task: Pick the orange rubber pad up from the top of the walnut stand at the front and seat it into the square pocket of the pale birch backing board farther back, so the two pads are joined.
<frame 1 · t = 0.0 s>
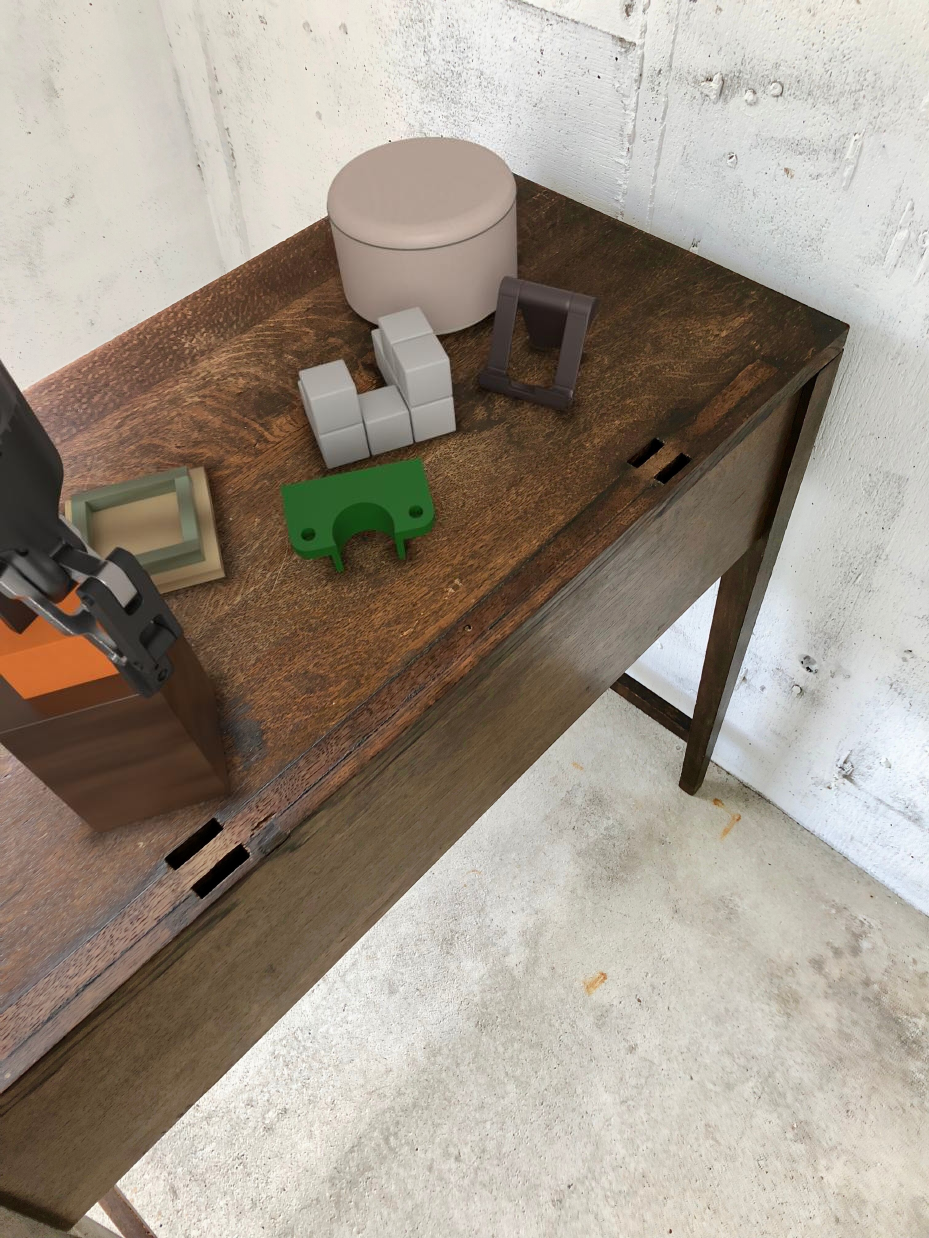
hand: (94, 650, 45), 18 cm above the table, tool pointing down, fingers open, 8 cm apart
backing board: (145, 542, 73), on the table
tablet stand: (538, 379, 82), on the table
pad: (73, 646, 50), point 14 cm above the table, touching gripper, stand
stand: (158, 756, 61), on the table
container: (431, 292, 91), on the table
clamp: (367, 543, 72), on the table
puzzle cube: (374, 410, 81), on the table
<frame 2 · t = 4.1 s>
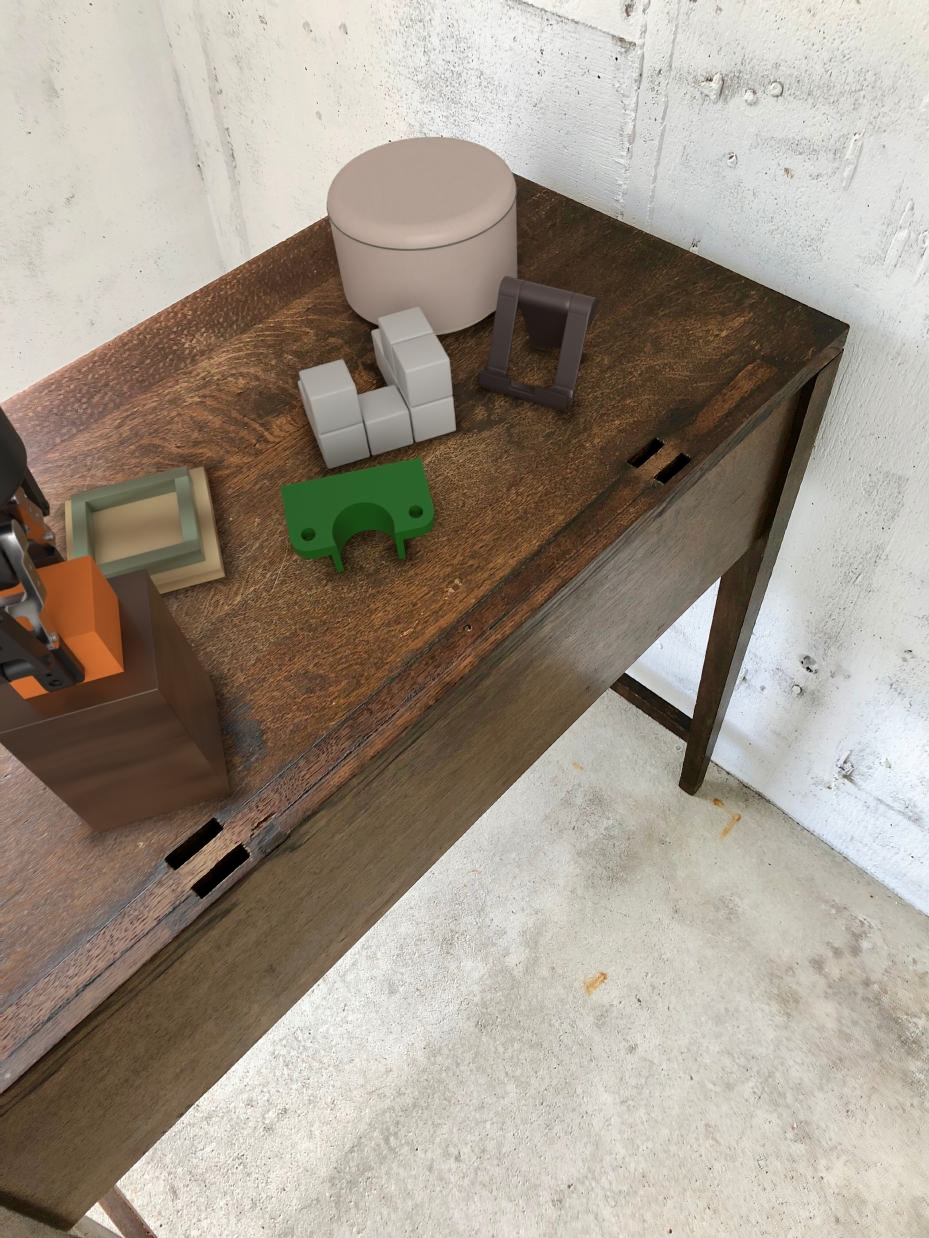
hand: (65, 637, 49), 15 cm above the table, tool pointing down, fingers closed on pad, 5 cm apart
pad: (73, 646, 50), point 14 cm above the table, touching gripper, stand
everything else where it was.
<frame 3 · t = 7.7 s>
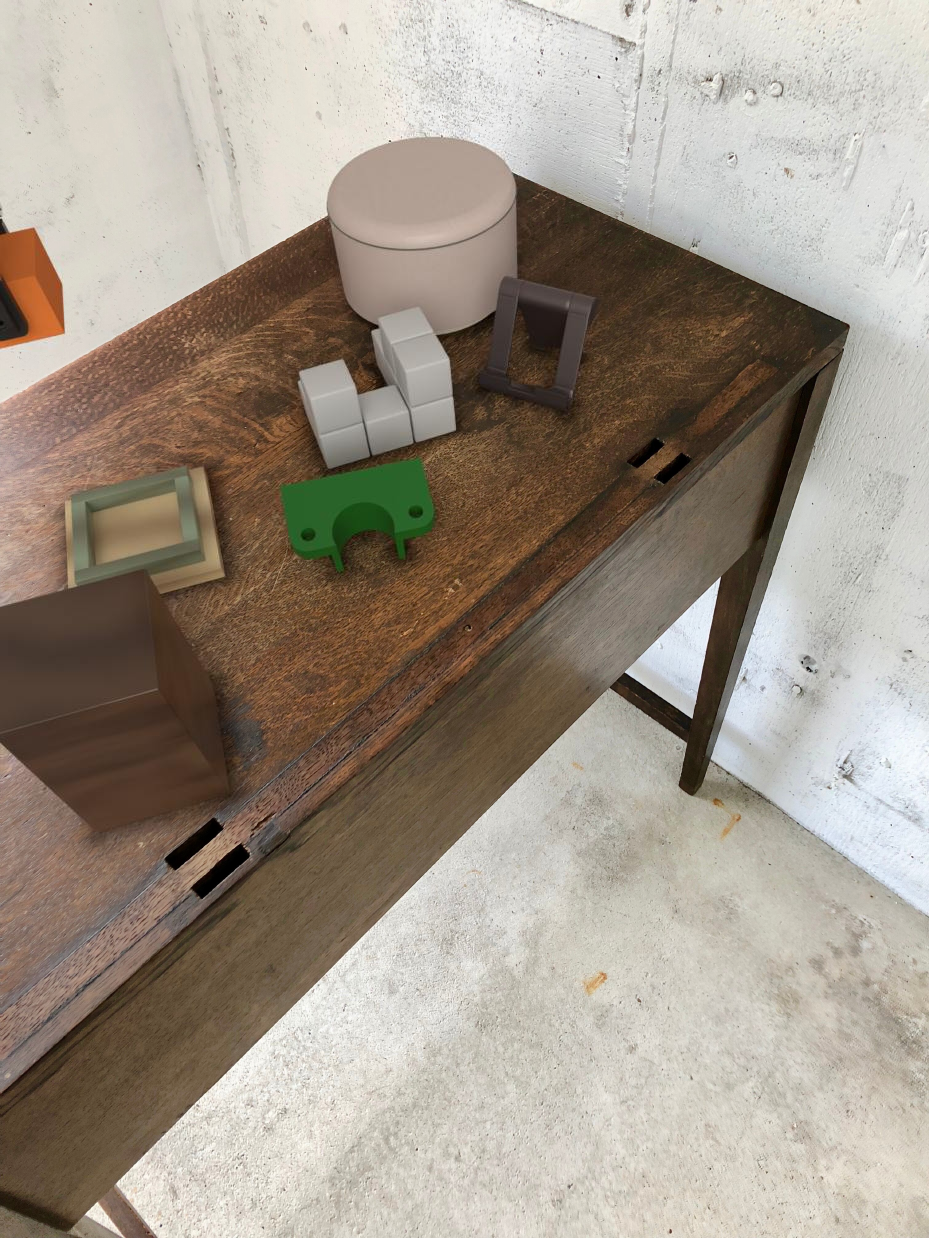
hand: (12, 305, 54), 23 cm above the table, tool pointing down, fingers closed on pad, 5 cm apart
pad: (20, 318, 55), point 22 cm above the table, touching gripper
everything else where it was.
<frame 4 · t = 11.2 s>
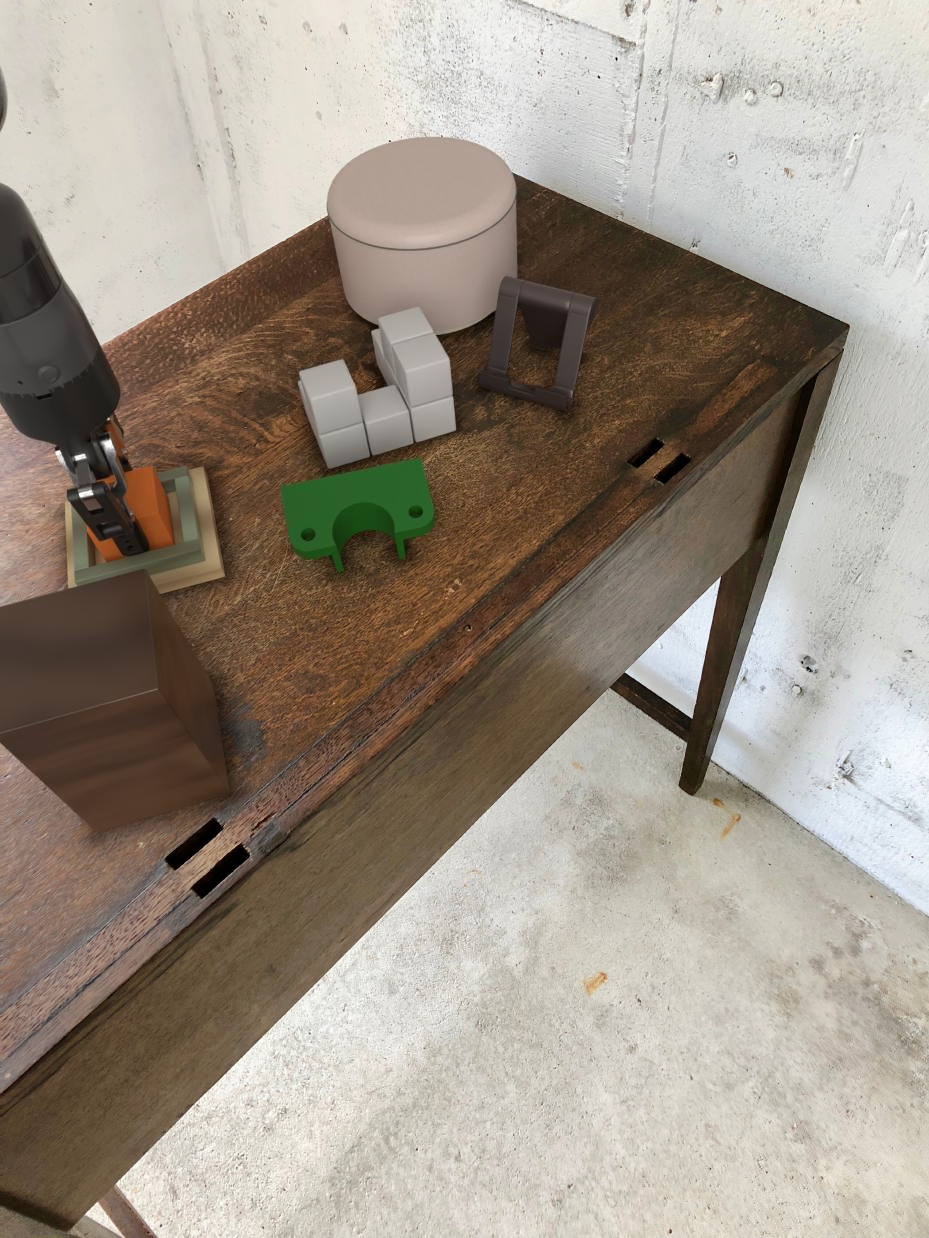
hand: (134, 523, 71), 2 cm above the table, tool pointing down, fingers closed on pad, 5 cm apart
pad: (138, 530, 72), point 1 cm above the table, touching gripper
everything else where it was.
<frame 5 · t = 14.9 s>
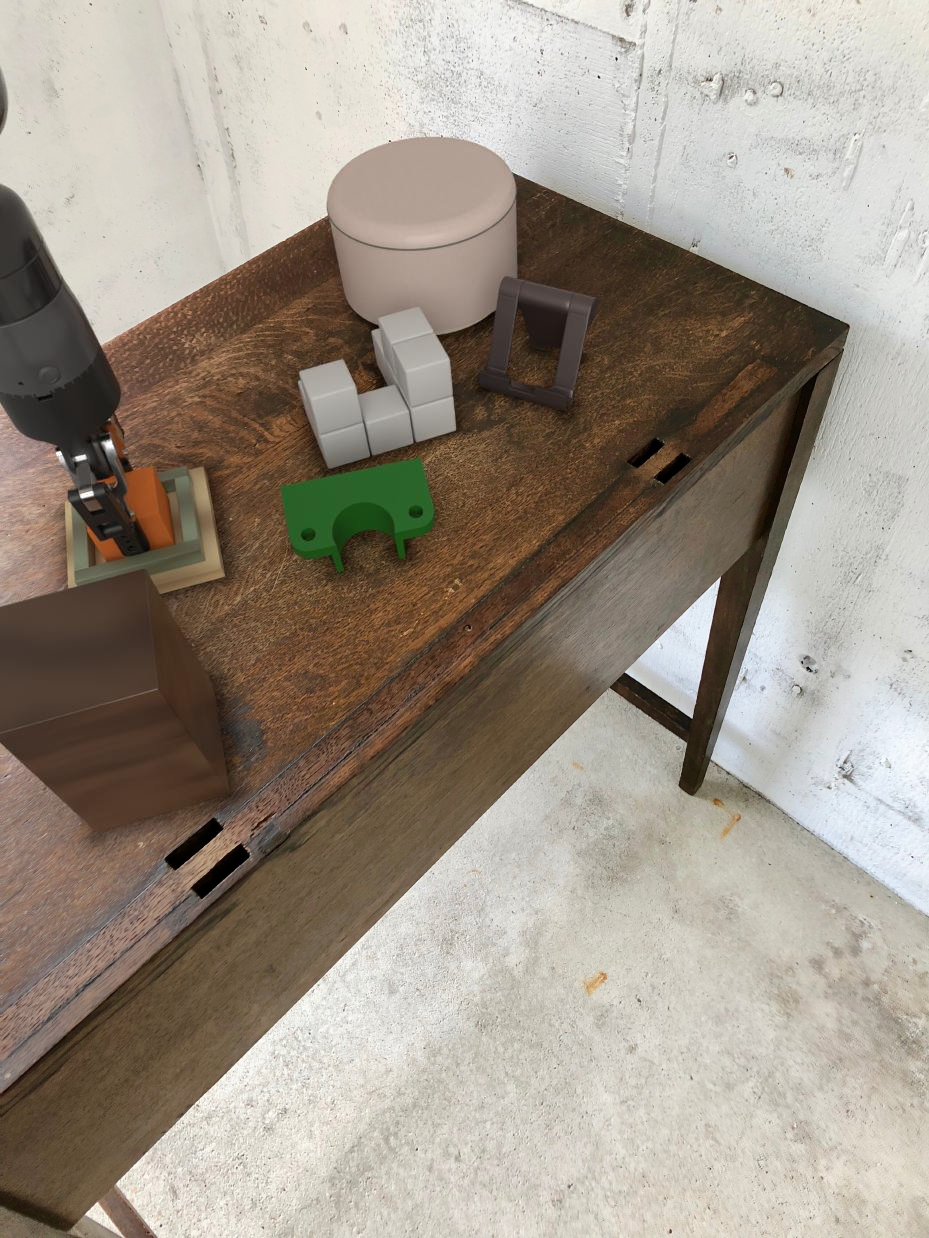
hand: (134, 523, 71), 2 cm above the table, tool pointing down, fingers closed on pad, 5 cm apart
pad: (139, 531, 72), point 1 cm above the table, touching gripper
everything else where it was.
when the fingers open (3 cm above the table, at t = 18.2 s): pad stays where it is, resting on backing board.
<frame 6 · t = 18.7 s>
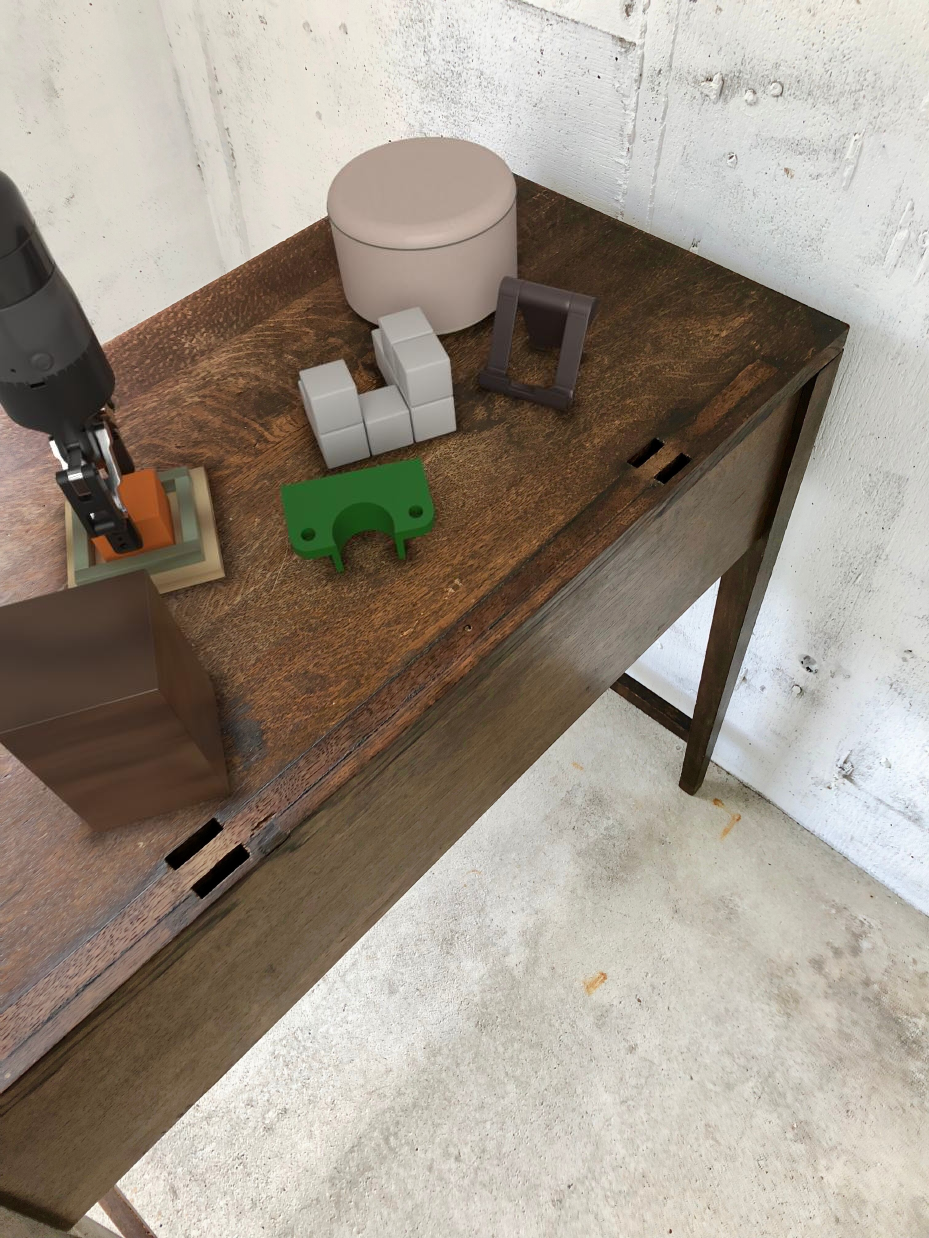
hand: (126, 509, 70), 4 cm above the table, tool pointing down, fingers open, 8 cm apart
pad: (140, 533, 72), point 1 cm above the table, touching backing board
everything else where it was.
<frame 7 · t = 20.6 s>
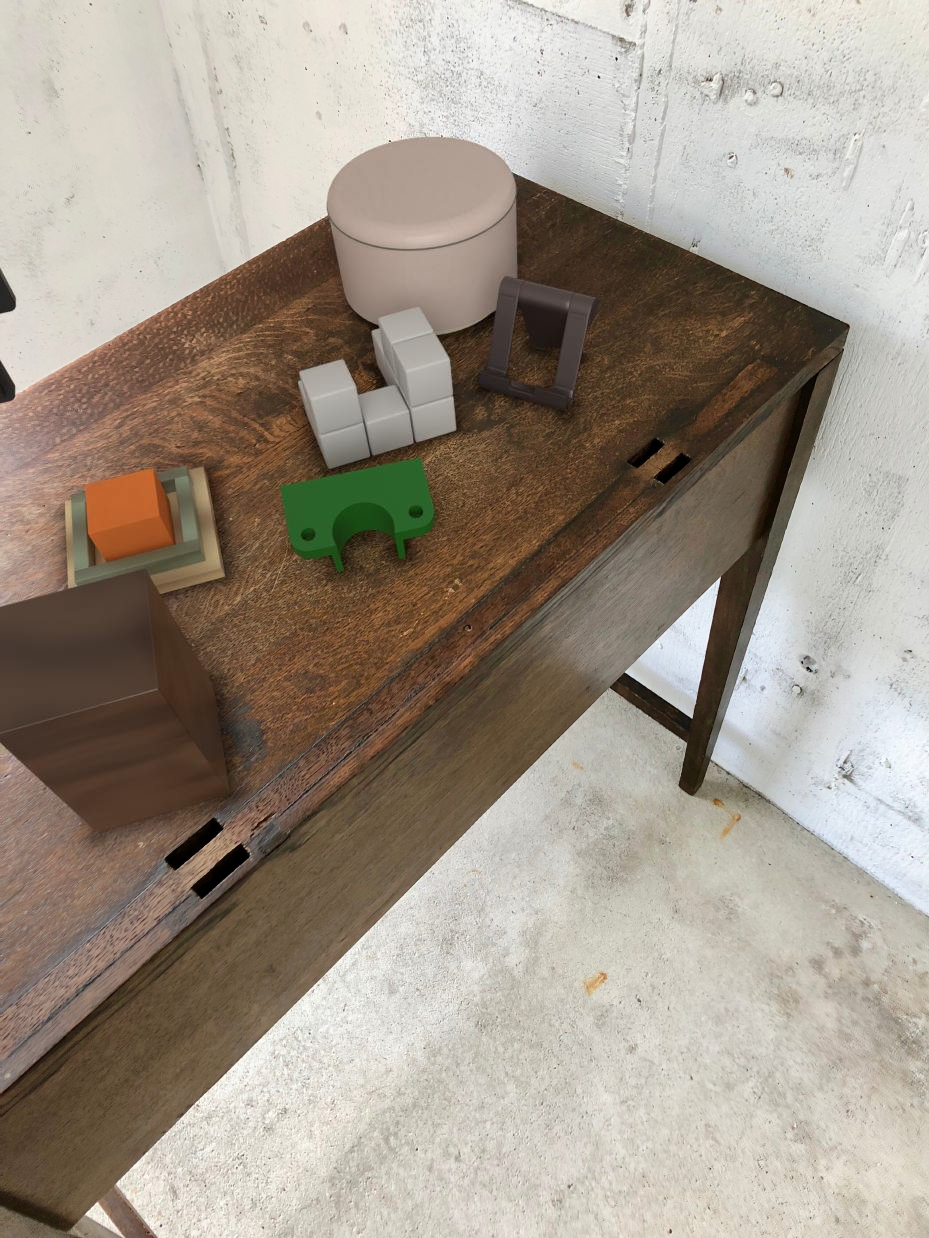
nothing on the table moved.
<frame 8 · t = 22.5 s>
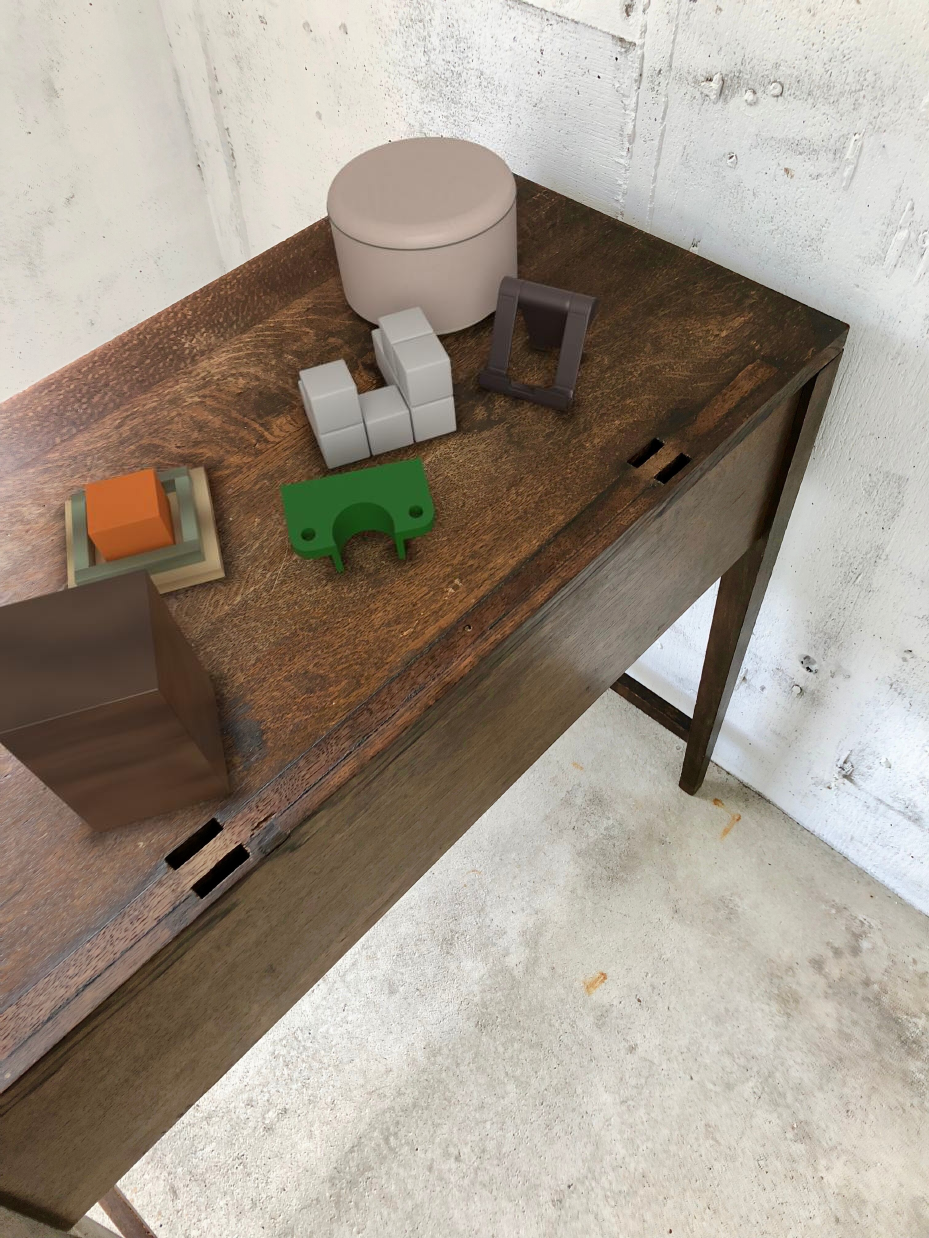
nothing on the table moved.
at the end: pad 0.0 cm off-centre on the backing board, point 1.2 cm above the backing board's base; pad tilted 0°; the gripper is holding nothing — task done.
